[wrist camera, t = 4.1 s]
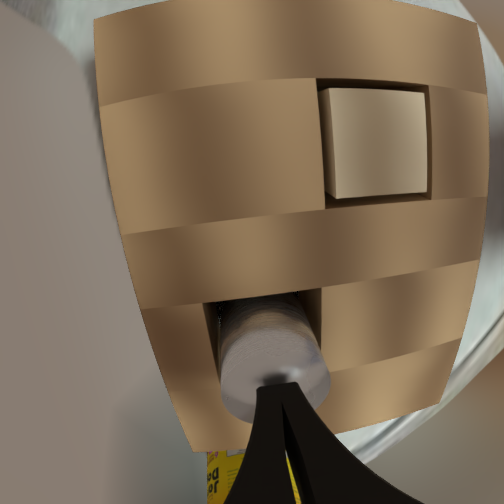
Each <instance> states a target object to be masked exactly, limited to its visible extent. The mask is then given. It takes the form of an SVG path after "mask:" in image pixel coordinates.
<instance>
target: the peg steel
mask: <svg viewBox="0 0 504 504" xmlns="http://www.w3.org/2000/svg"><path fill="white" fill-rule="evenodd" d="M220 358H221V399H222V402H223V404H224V406H225V408H226V409H227V410H228V411H229V412H230V413H231V414H232V415H233V416H235V417H236V418H238V419H240V420H242V421H244V422H247V423H251V424H253V421H254V415H255V409H256V389H257V388H258V387H260V386H268V385H275V384H281V383H288V382H294V381H295V382H297V383H298V384H299V386H300V388H301V390H302V392H303V393H304V395H305V397H306V398H307V400H308V401H309V403H310V404H311V406H312V407H313V409H314V410H315V409H316V408H318V407H319V406H320V405H321V403H322V402H323V401H324V400H325V398H326V397H327V395H328V393H329V390H330V386H331V377H330V373H329V370H328V368H327V365H326V363H325V360H324V358H323V356H322V353H321V351H320V348H319V346H318V343H317V341H316V338H315V336H314V334H313V331H312V329H311V326H310V324H309V321H308V319H307V317H306V314H305V312H304V309H303V307H302V305H301V302H300V301H299V299H298V298H297V297H296V296H295V294H293V293H292V292H287V293H279V294H272V295H264V296H257V297H249V298H241V299H233V300H228V301H227V303H226V304H225V306H224V308H223V310H222V314H221V330H220Z"/></svg>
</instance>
